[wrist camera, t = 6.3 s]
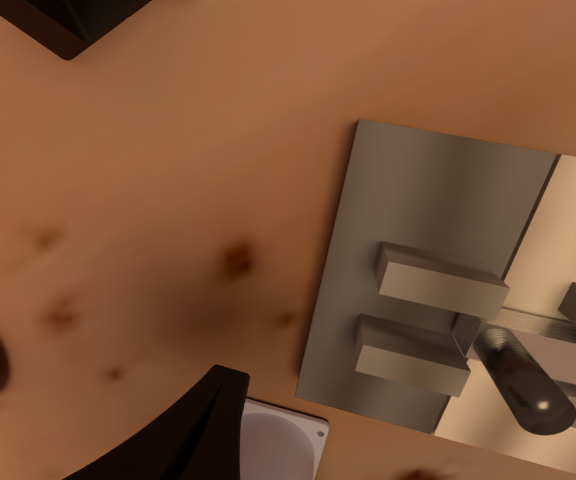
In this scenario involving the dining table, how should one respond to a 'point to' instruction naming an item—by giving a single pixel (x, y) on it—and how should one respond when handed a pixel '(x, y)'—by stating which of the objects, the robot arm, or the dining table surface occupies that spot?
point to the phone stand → (68, 21)
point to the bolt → (525, 364)
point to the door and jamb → (440, 282)
